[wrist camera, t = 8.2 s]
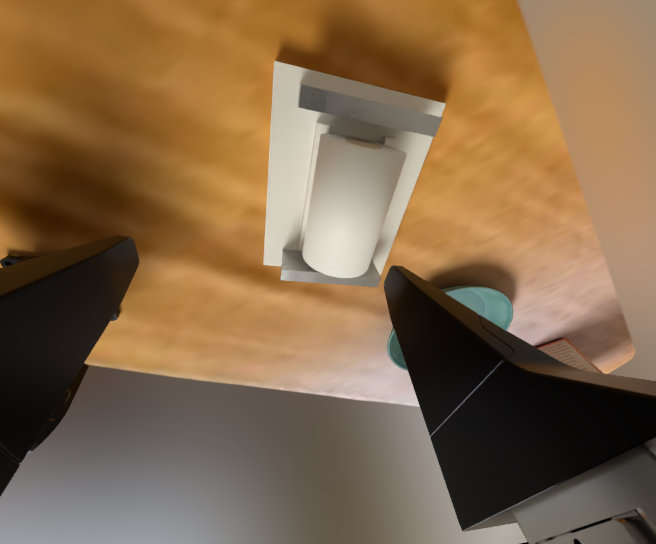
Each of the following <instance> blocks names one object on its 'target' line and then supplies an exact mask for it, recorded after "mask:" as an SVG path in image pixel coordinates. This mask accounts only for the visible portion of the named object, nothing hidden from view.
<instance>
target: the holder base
mask: <svg viewBox="0 0 656 544" xmlns="http://www.w3.org/2000/svg"><path fill="white" fill-rule="evenodd" d="M299 84H302V85H307V86H311V87H315V88H319V89H324V90H328V91H332V92H336V93H341V94H345V95H349V96H353V97H358V98H362V99H366V100H370V101H374V102H379V103H383V104H387V105H391V106H396V107H400V108H404V109H408V110H413V111H417V112H421V113H425V114H430V115H434V116H438V117H441V115H442V113H443V110H444V108H445V105H446V103H441V102H437V101H433V100H429V99H425V98H421V97H417V96H413V95H409V94H405V93H401V92H397V91H393V90H389V89H385V88H381V87H377V86H373V85H369V84H365V83H361V82H357V81H353V80H349V79H345V78H341V77H337V76H333V75H329V74H325V73H321V72H317V71H313V70H309V69H305V68H301V67H297V66H293V65H289V64H285V63H281V62H277V61H274V75H273V94H272V113H271V132H270V151H269V170H268V189H267V208H266V226H265V245H264V264H263V265H270V266H281V261H282V250H283V249H288V250H298V251H303V245H304V239H305V232H306V226H307V219H308V213H309V206H310V199H311V193H312V186H313V180H314V173H315V167H316V160H317V154H318V147H319V141H320V135H321V134H323V133H331V134H340V135H346V136H352V137H357V138H362V139H366V140H370V141H374V142H378V143H381V144H384V145H388V146H391V147H393V148H396V149H399V150H401V151H403V152H405V153H406V154H407V156H406V159H405V162H404V165H403V168H402V171H401V174H400V177H399V180H398V183H397V186H396V189H395V192H394V194H393V197H392V200H391V203H390V206H389V209H388V212H387V215H386V218H385V221H384V224H383V227H382V230H381V233H380V236H379V239H378V241H377V244H376V247H375V250H374V253H373V256H372V260H373V262H374V264H375V266H376V269H377V271H378V273H379V275H381V273H382V270H383V268H384V265H385V262H386V260H387V257H388V254H389V252H390V249H391V247H392V244H393V241H394V239H395V236H396V233H397V231H398V228H399V226H400V223H401V220H402V218H403V215H404V213H405V210H406V207H407V205H408V202H409V199H410V197H411V194H412V192H413V189H414V186H415V184H416V181H417V178H418V176H419V173H420V171H421V168H422V165H423V163H424V160H425V157H426V155H427V152H428V150H429V147H430V144H431V142H432V139H433V137H432V136H427V135H423V134H418V133H413V132H409V131H404V130H400V129H395V128H390V127H386V126H381V125H376V124H372V123H367V122H363V121H358V120H353V119H349V118H344V117H339V116H335V115H330V114H326V113H321V112H316V111H312V110H307V109H302V108H298V105H297V101H298V91H299Z"/></svg>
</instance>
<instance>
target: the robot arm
mask: <svg viewBox="0 0 656 544" xmlns="http://www.w3.org/2000/svg"><path fill="white" fill-rule="evenodd" d="M0 263H1V265H2V266H3V268H0V496H1V495H2V493H3V491H4V490H5V488H6V487H7V485H8V483H9V482H10V480H11V479H12V477H13V476H14V474H15V472H16V471H17V469H18V467H19V466H20V464H19V463H21V462H22V460H23V459H24V457H25V456H26V455H28V454H29V453H30V452H32V451H33V450H34V449H35V448H36V447H38V446H39V445H40V444H41V443H42V442H43V441H44V440H45V439H46V438H47V437H48V436H49V435H50V434H51V432H52V431H53V430H54V429H55V428H56V426H57V425H58V424H59V423H60V421H61V420H62V418H63V417H64V416H65V414H66V412H67V410H68V409H69V407H70V405H71V402H72V400H73V398H74V396H75V394H76V392H77V390H78V388H79V386H80V383H81V381H82V379H83V377H84V375H85V373H86V371H87V369H88V367H89V365H87V364H85V363H84V362H85V360H86V359H87V357H88V356H89V354H90V352H91V351H92V349H93V348H94V346H95V344H96V343H97V341H98V340H99V338H100V336H101V335H102V333H103V332H104V330H105V329H106V327H107V325H108V324H109V322H110V321H115V320H117V318H118V317H119V312H118V310H117V309H118V308H119V306H120V304H121V302H122V300H123V298H124V296H125V294H126V292H127V290H128V287H129V285H130V283H131V281H132V279H133V276H134V274H135V272H136V270H137V268H138V265H139V258H138V254H137V250H136V246H135V242H134V240H133V238H131V237H127V236H112V237H109V238H105V239H102V240H98V241H95V242H91V243H88V244H84V245H81V246H77V247H74V248H70V249H67V250H63V251H60V252H56V253H53V254H49V255H45V256H42V257H38V258H32V257H17V256H7V257H5V258H3V259H1V260H0ZM384 290H385V295H386V299H387V304H388V309H389V314H390V318H391V321H392V324H393V327H394V330H395V333H396V336H397V339H398V342H399V345H400V348H401V351H402V354H403V357H404V360H405V363H406V366H407V369H408V372H409V375H410V378H411V381H412V384H413V387H414V390H415V393H416V396H417V399H418V402H419V405H420V408H421V411H422V414H423V417H424V420H425V423H426V426H427V428H428V431H429V435H430V436H431V441H432V444H433V447H434V450H435V453H436V455H437V459H438V462H439V465H440V467H441V471H442V474H443V477H444V480H445V483H446V486H447V489H448V491H449V494H450V497H451V500H452V503H453V506H454V509H455V512H456V515H457V518H458V521H459V524H460V526H461V528H462V531H470V530H476V529H481V528H488V527H493V526H499V525H505V524H511V523H518V525H519V527H520V528H521V530H522V532H523V534H524V536H525V538H526V540H527V542H526V543H522V544H656V381H650V380H644V379H637V378H630V377H623V376H616V375H610V374H603V373H596V372H590V371H585V370H581V369H578V368H575V367H572V366H570V365H567V364H565V363H563V362H561V361H559V360H557V359H555V358H553V357H552V356H550V355H548V354H546V353H545V352H543V351H541V350H539V349H537V348H536V347H534V346H532V345H530V344H529V343H527V342H525V341H523V340H522V339H520V338H518V337H516V336H515V335H513V334H511V333H509V332H508V331H506V330H504V329H502V328H501V327H499V326H498V325H496V324H494V323H493V322H491V321H489V320H488V319H486V318H484V317H483V316H481V315H478V313H476V312H475V311H473V310H472V309H470V308H468V307H467V306H465V305H464V304H462V303H460V302H459V301H457V300H455V299H454V298H452V297H451V296H449V295H447V294H446V293H444V292H443V291H441V290H439V289H438V288H436V287H435V286H433V285H431V284H430V283H428V282H427V281H425V280H423V279H422V278H420V277H419V276H417V275H415V274H414V273H412V272H411V271H409V270H407V269H406V268H404V267H402V266H395V265H393V266H391V268H390V270H389V272H388V274H387V277H386V279H385V282H384Z"/></svg>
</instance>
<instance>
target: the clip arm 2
mask: <svg viewBox="0 0 656 544" xmlns="http://www.w3.org/2000/svg"><path fill="white" fill-rule="evenodd" d="M297 105H298V108H302V109H307V110H312V111H316V112H321V113H326V114H330V115H335V116H339V117H344V118H349V119H353V120H358V121H363V122H367V123H372V124H376V125H381V126H386V127H390V128H395V129H400V130H404V131H409V132H413V133H418V134H423V135H427V136H432V137H435V136H436V133H437V131H438V128H439V125H440V123H441V120H442V117H438V116H434V115H430V114H425V113H421V112H417V111H413V110H408V109H404V108H400V107H396V106H391V105H387V104H383V103H379V102H374V101H370V100H366V99H362V98H358V97H353V96H349V95H345V94H341V93H336V92H332V91H328V90H324V89H319V88H315V87H311V86H307V85H302V84H299V91H298V101H297Z"/></svg>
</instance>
